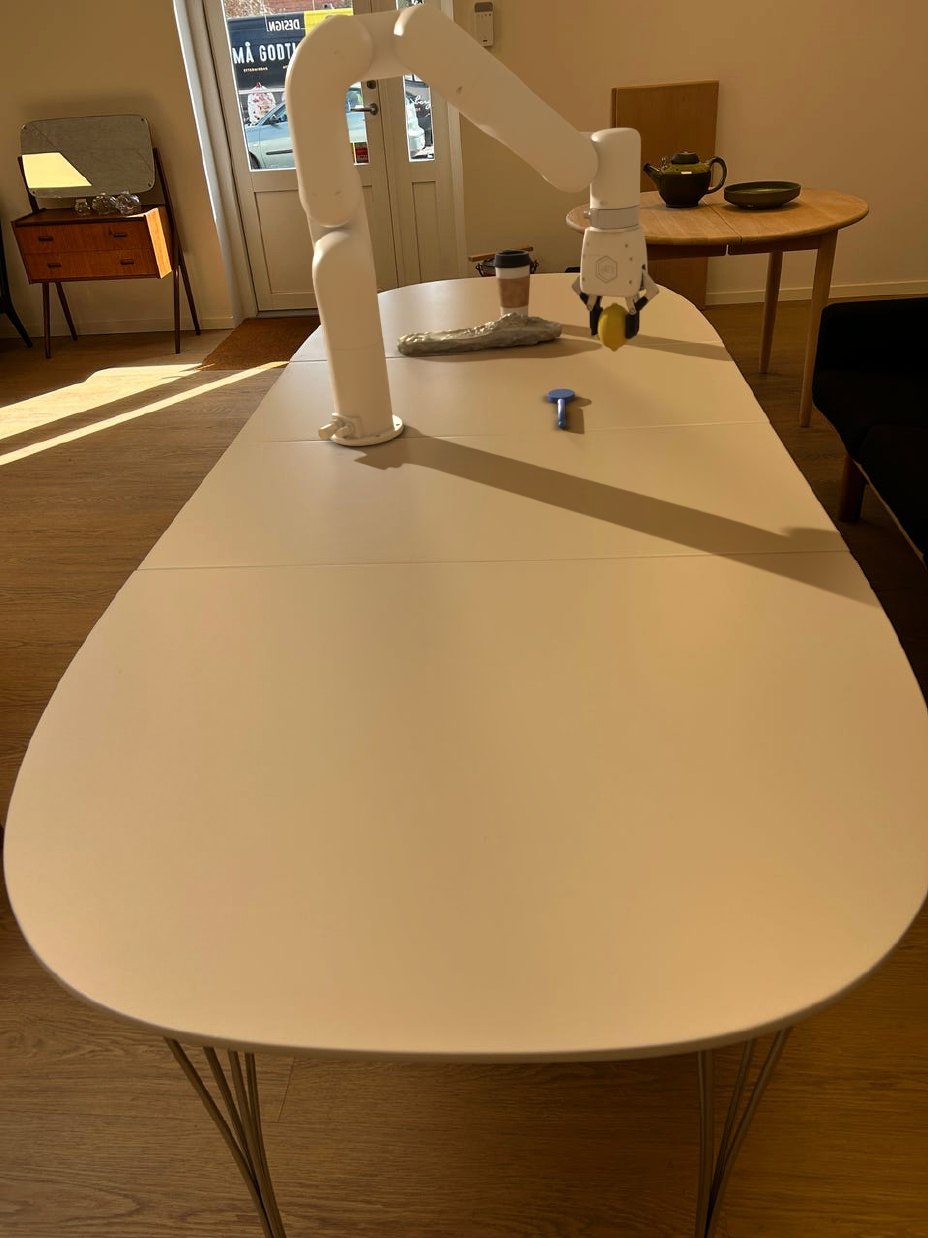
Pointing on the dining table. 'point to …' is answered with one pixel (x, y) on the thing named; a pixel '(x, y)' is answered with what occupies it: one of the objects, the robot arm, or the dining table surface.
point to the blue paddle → (561, 402)
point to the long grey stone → (483, 335)
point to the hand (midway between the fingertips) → (614, 334)
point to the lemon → (612, 326)
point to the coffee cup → (513, 281)
